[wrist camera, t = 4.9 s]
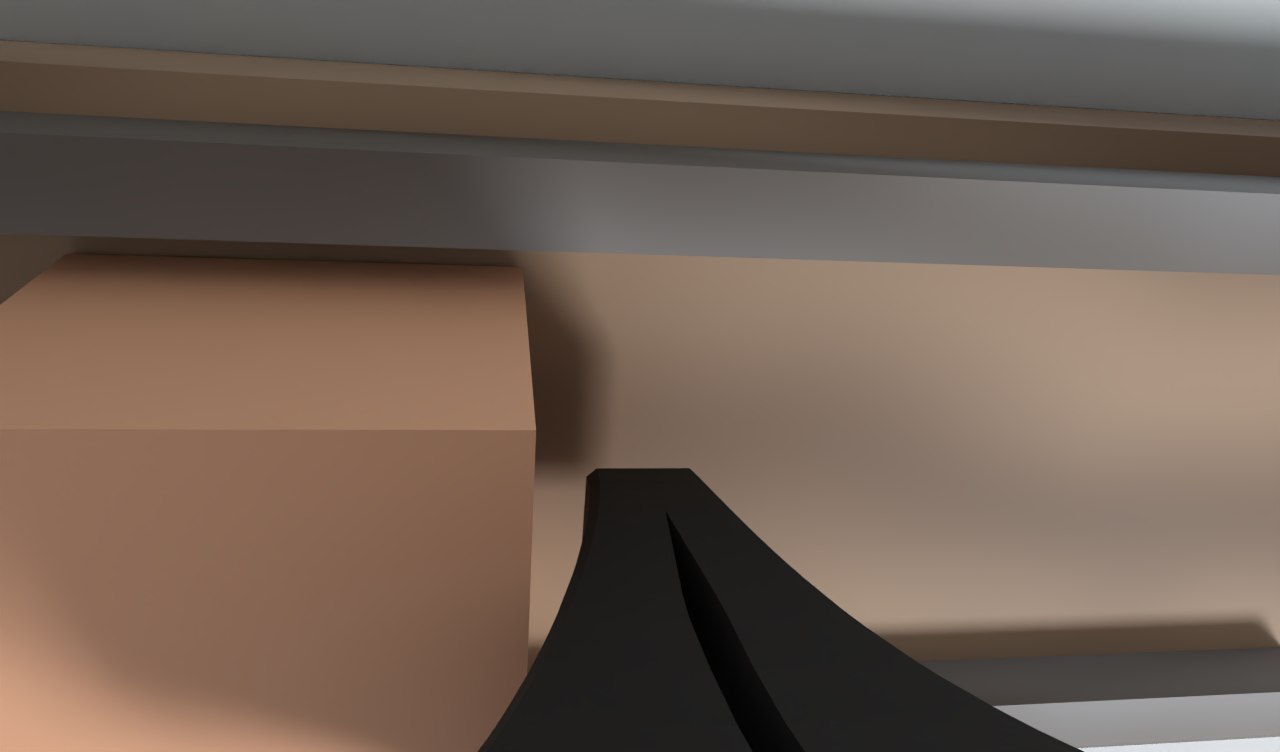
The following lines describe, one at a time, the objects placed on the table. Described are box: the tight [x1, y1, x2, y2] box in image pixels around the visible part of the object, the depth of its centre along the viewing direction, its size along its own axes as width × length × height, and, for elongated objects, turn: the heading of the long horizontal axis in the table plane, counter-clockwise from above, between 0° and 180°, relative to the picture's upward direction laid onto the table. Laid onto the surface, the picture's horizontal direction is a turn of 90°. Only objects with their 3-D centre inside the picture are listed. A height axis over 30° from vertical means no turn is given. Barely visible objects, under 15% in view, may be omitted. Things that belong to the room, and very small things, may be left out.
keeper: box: [0, 254, 536, 752], centre depth 10 cm, size 6×5×4 cm
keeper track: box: [0, 40, 1280, 748], centre depth 11 cm, size 10×26×6 cm, turn 85°
